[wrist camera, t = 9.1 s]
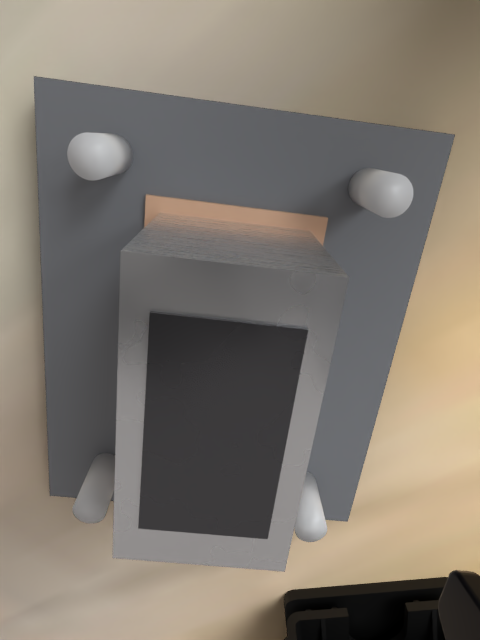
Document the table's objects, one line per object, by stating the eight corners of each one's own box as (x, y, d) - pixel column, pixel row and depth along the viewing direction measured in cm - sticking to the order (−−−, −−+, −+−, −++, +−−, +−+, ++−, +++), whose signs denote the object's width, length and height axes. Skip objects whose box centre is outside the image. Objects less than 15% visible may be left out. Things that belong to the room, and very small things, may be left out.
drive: (310, 230, 15) (349, 278, 10) (270, 451, 18) (285, 574, 13) (159, 212, 15) (119, 251, 10) (146, 439, 18) (111, 560, 13)
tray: (435, 135, 16) (497, 133, 12) (340, 496, 21) (362, 571, 18) (52, 82, 15) (-8, 63, 11) (62, 471, 21) (24, 544, 17)
